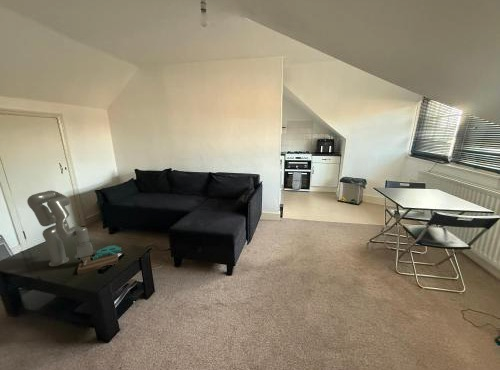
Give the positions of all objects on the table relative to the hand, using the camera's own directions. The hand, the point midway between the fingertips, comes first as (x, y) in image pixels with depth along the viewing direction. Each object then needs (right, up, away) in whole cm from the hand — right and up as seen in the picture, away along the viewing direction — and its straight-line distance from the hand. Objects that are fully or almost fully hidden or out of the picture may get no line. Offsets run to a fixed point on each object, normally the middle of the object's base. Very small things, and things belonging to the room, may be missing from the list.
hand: (87, 262), depth 173 cm
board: (+12, -1, -3) cm, 12 cm away
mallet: (+2, -2, -4) cm, 5 cm away
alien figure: (+5, +2, +17) cm, 18 cm away
